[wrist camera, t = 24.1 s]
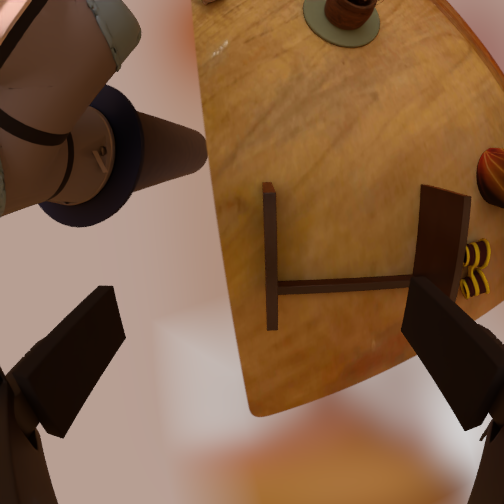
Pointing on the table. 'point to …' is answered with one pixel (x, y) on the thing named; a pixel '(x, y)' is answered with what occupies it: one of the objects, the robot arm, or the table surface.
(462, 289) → the opera glasses
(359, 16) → the utensil holder
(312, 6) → the rubber mat
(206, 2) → the toy set
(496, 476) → the robot arm
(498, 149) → the mug
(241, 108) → the table surface
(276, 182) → the table surface
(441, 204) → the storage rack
